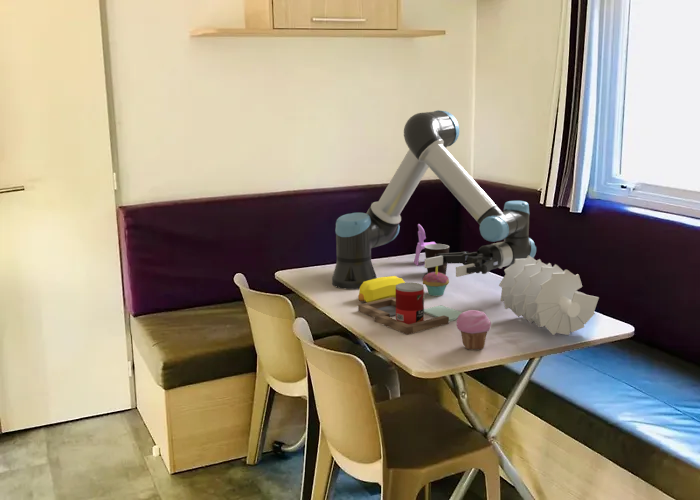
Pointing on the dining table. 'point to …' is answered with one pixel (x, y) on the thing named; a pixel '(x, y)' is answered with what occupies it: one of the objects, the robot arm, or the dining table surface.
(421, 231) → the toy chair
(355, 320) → the dining table surface
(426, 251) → the coffee mug
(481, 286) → the dining table surface
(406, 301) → the canned food
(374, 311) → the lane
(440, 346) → the dining table surface
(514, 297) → the spiral staircase
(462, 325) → the cupcake
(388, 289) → the yellow faceted block
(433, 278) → the cupcake
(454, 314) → the pad
